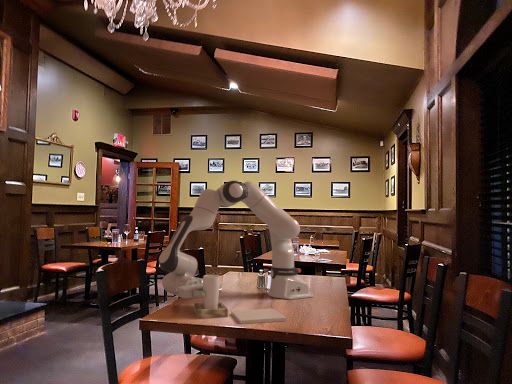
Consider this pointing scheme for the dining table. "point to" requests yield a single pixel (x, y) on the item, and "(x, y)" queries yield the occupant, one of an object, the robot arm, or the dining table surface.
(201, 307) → the wooden tray
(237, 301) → the dining table surface
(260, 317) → the plate
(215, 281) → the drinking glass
